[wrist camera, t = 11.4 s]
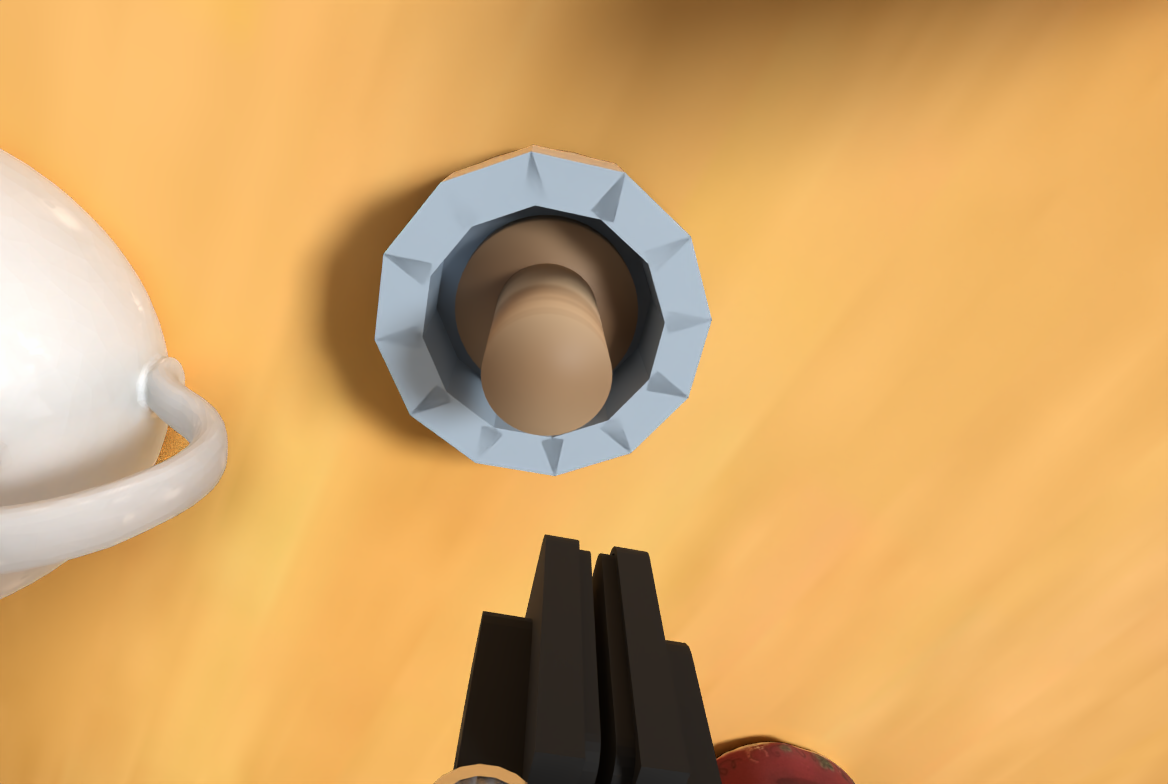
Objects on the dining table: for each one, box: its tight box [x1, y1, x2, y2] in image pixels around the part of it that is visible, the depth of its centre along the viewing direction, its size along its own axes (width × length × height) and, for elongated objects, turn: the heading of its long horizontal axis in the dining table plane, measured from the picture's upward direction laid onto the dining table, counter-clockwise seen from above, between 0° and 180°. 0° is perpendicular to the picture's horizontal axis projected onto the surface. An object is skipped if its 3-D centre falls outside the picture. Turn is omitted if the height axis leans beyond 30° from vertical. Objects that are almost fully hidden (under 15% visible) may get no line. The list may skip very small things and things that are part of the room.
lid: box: [455, 215, 638, 436], centre depth 22 cm, size 6×6×7 cm
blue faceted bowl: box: [374, 145, 712, 476], centre depth 24 cm, size 11×11×4 cm
